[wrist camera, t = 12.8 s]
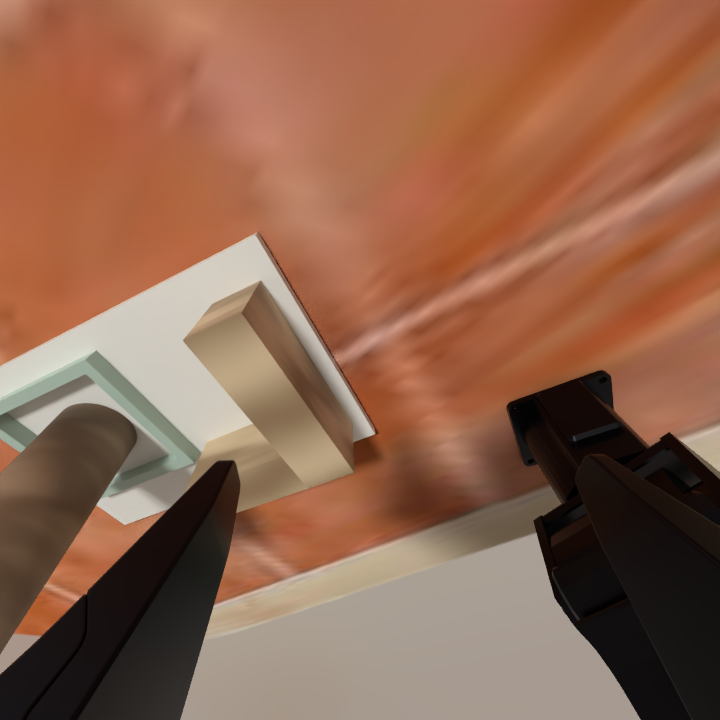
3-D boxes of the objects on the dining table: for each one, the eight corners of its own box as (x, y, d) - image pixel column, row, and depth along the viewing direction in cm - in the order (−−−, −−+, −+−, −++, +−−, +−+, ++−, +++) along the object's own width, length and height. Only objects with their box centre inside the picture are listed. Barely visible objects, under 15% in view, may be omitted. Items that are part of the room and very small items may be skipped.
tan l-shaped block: (352, 424, 23) (354, 472, 20) (233, 468, 25) (216, 519, 22) (260, 280, 18) (241, 312, 14) (116, 350, 20) (69, 393, 16)
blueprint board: (374, 428, 24) (376, 445, 23) (128, 517, 29) (117, 536, 27) (257, 232, 17) (250, 239, 16) (-49, 391, 21) (-75, 407, 20)
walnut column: (149, 425, 23) (-10, 673, 12) (120, 464, 24) (-40, 712, 14) (72, 391, 21) (-191, 646, 10) (47, 436, 23) (-201, 694, 12)
